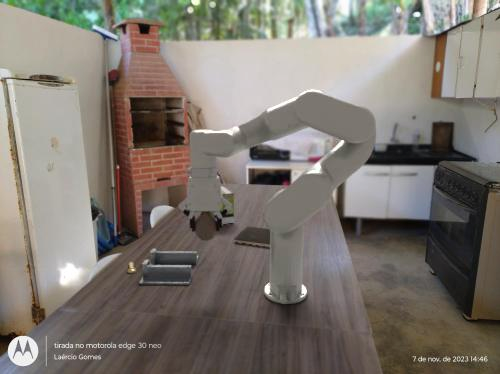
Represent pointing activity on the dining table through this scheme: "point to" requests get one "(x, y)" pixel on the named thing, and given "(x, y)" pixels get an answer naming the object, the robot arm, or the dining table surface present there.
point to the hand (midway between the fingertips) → (206, 229)
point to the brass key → (131, 268)
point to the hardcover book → (254, 236)
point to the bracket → (168, 268)
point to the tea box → (230, 214)
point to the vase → (206, 226)
